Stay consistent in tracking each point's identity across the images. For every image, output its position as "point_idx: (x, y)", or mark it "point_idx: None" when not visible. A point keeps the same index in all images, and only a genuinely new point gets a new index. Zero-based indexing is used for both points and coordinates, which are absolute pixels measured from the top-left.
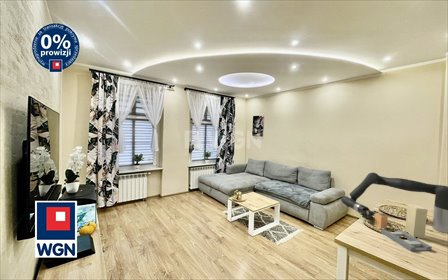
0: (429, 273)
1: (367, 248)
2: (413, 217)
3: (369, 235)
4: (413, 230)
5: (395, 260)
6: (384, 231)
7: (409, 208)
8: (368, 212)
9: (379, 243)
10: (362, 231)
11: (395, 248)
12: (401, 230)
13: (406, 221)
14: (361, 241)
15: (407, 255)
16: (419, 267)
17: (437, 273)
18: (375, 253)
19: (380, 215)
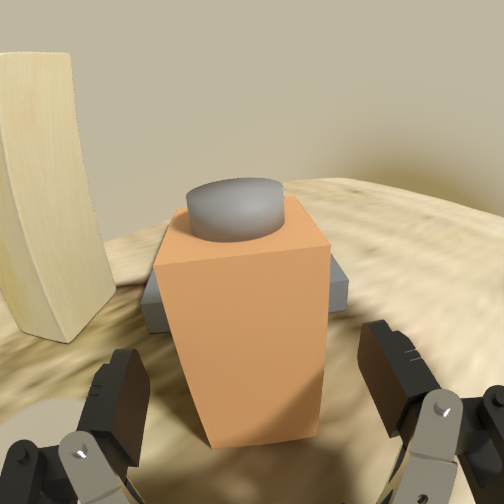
0: (323, 180)
1: (465, 211)
2: (66, 143)
3: (447, 269)
4: (100, 245)
5: (390, 191)
6: (335, 261)
7: (20, 87)
8: (399, 491)
9: (412, 230)
10: (485, 297)
11: (351, 219)
12: (145, 289)
13: (36, 246)
14: (486, 231)
15: (329, 203)
16: (333, 185)
17: (299, 181)
18: (443, 201)
19: (291, 205)
